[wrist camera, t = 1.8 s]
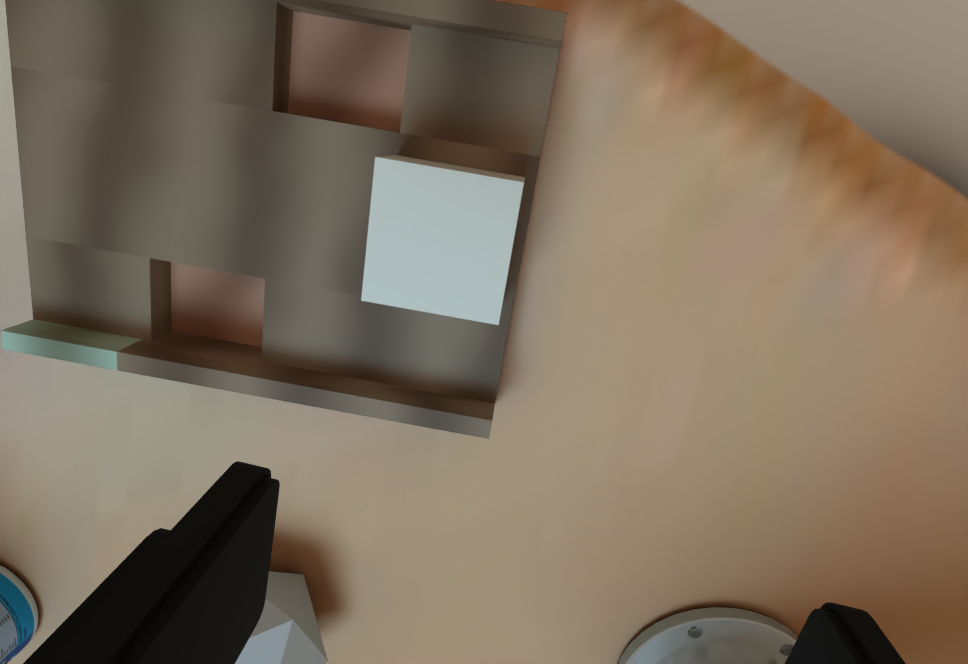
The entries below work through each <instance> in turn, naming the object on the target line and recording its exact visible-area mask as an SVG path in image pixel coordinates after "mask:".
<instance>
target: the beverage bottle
mask: <svg viewBox="0 0 968 664" xmlns="http://www.w3.org/2000/svg"><path fill="white" fill-rule="evenodd" d="M37 626H38V610H37V606H36V603H35V600H34V598H33V596H32V594H31V592H30V591H29V589H28V588H27V587H26V585H25V584H24V583H23V582H22V581H21V580H20V579H19V578H18V577H17V576H16V575H15V574H13V573H12V572H11V571H9V570H8V569H6V568H5V567H3V566H1V565H0V664H7V663H8V662H9V661H10V660H11V659H12V658H13V657H15V656H16V655H17V654H18V653H19V652H20V651H21V650H22V649H23V648H24V647H25V646H26V645H27V644H28V643H29V642H30V641H31V639H32V638H33V636H34V634H35V632H36V629H37Z"/></svg>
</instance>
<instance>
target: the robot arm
mask: <svg viewBox="0 0 968 664" xmlns="http://www.w3.org/2000/svg"><path fill="white" fill-rule="evenodd" d="M278 495H279V481H278V480H276V479H272V478H271V471H270V470H269V469H268V468H264V467H260V466H255V465H251V464H247V463H243V462H239V461H238V462H235V463H233V464H232V465H231V466H230V467H229V468H228V469H227V471H226V472H225V473H224V474H223V475H222V476H221V477H220V478H219V479H218V480H217V481H216V482H215V483H214V484H213V486H212V487H211V488H210V489H209V490H208V491H207V492H206V493H205V494H204V495H203V496H202V497H201V498H200V500H199V501H198V502H197V503H196V504H195V505H194V506H193V507H192V508H191V509H190V510H189V511H188V512H187V514H186V515H185V516H184V517H183V518H182V519H181V520H180V521H179V522H178V523H177V524H176V525H175V526H174V527H173V529H172V530H171V531H170V530H166V529H162V528H160V529H158V530H155V531H153V532H152V533H151V534H150V535H149V536H147V537H146V538H145V539H144V540H143V541H142V542H141V543H140V544H139V545H138V546H137V547H136V548H135V549H134V551H133V552H132V553H131V554H130V555H129V556H128V557H127V558H126V559H125V560H124V561H123V562H122V563H121V564H120V565H119V566H118V567H117V568H116V569H115V570H114V571H113V572H112V573H111V574H110V575H109V576H108V577H107V578H106V579H105V580H104V581H103V582H102V583H101V584H100V585H99V586H98V587H97V588H96V589H95V590H94V592H93V593H92V594H91V595H90V596H89V597H88V598H87V599H86V600H85V601H84V602H83V603H82V604H81V605H80V606H79V607H78V608H77V609H76V610H75V611H74V612H73V613H72V614H71V615H70V616H69V617H68V618H67V619H66V620H65V621H64V622H63V623H62V624H61V625H60V626H59V627H58V628H57V629H56V630H55V632H54V633H53V634H52V635H51V636H50V637H49V638H48V639H47V640H46V641H45V642H44V643H43V644H42V645H41V646H40V647H39V648H38V649H37V650H36V651H35V652H34V653H33V654H32V655H31V656H30V657H29V658H28V659H27V660H26V661H25V662H24V663H23V664H235V662H236V661H237V659H238V657H239V655H240V654H241V652H242V650H243V648H244V647H245V645H246V643H247V641H248V640H249V638H250V636H251V634H252V633H253V631H254V629H255V627H256V625H257V624H258V622H259V619H260V617H261V614H262V611H263V608H264V605H265V599H266V591H267V583H268V575H269V567H270V559H271V551H272V543H273V535H274V527H275V519H276V511H277V503H278ZM618 664H905V662H904V661H903V660H902V658H901V657H900V655H899V654H898V653H897V651H896V650H895V648H894V647H893V646H892V644H891V643H890V642H889V640H888V639H887V637H886V636H885V635H884V633H883V632H882V630H881V629H880V628H879V626H878V625H877V623H876V622H875V621H874V619H873V618H872V617H871V616H870V615H869V614H868V613H867V612H865V611H863V610H860V609H856V608H852V607H848V606H844V605H839V604H835V603H826V604H824V605H822V607H821V608H820V609H815V610H813V611H812V612H811V614H810V615H809V617H808V619H807V621H806V623H805V625H804V627H803V629H802V631H801V633H800V635H799V637H798V636H797V635H796V634H795V633H793V632H792V631H791V630H790V629H789V628H788V627H786V626H784V625H782V624H781V623H779V622H777V621H776V620H774V619H772V618H769V617H767V616H764V615H761V614H758V613H756V612H752V611H747V610H742V609H736V608H720V607H711V608H702V609H694V610H690V611H686V612H682V613H678V614H675V615H672V616H670V617H668V618H665V619H663V620H661V621H659V622H657V623H655V624H653V625H652V626H650V627H649V628H648V629H646V630H645V631H643V632H642V633H640V634H639V635H638V636H637V637H636V638H635V639H634V640H633V641H632V642H631V643H630V644H629V646H628V647H627V649H626V650H625V652H624V653H623V655H622V656H621V658H620V660H619V663H618Z"/></svg>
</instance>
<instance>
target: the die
mask: <svg viewBox="0 0 968 664" xmlns="http://www.w3.org/2000/svg"><path fill="white" fill-rule="evenodd" d="M327 661H328V659H327V656H326V652H325V649H324V645H323V642H322V638H321V635H320V631H319V628H318V624H317V621H316V617H315V613H314V610H313V606H312V603H311V599H310V596H309V592H308V589H307V585H306V582H305V578H304V575H303V574H294V573H282V572H271V571H269V575H268V583H267V591H266V599H265V605H264V608H263V611H262V614H261V617H260V619H259V622H258V624H257V625H256V627H255V629H254V631H253V633H252V634H251V636H250V638H249V640H248V641H247V643H246V645H245V647H244V648H243V650H242V652H241V654H240V655H239V657H238V659H237V661H236V662H235V664H325V663H326V662H327Z"/></svg>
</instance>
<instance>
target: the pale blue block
mask: <svg viewBox="0 0 968 664" xmlns="http://www.w3.org/2000/svg"><path fill="white" fill-rule="evenodd" d="M524 181H525V177H521V176H515V175H509V174H504V173H498V172H492V171H486V170H480V169H474V168H469V167H463V166H457V165H451V164H445V163H440V162H434V161H428V160H422V159H416V158H410V157H405V156H399V155H394V156H379V157H375V163H374V174H373V184H372V194H371V204H370V215H369V225H368V235H367V245H366V256H365V266H364V276H363V286H362V296H361V301H366V302H372V303H377V304H383V305H388V306H394V307H399V308H405V309H411V310H416V311H422V312H427V313H433V314H439V315H444V316H450V317H455V318H461V319H467V320H472V321H478V322H483V323H489V324H495V325H499V320H500V315H501V310H502V305H503V299H504V294H505V288H506V283H507V277H508V271H509V266H510V260H511V254H512V249H513V243H514V238H515V232H516V226H517V221H518V215H519V210H520V204H521V198H522V193H523V187H524Z"/></svg>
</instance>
